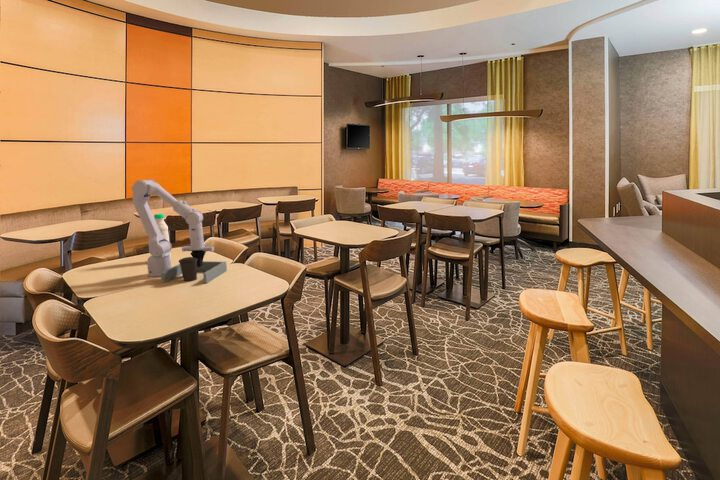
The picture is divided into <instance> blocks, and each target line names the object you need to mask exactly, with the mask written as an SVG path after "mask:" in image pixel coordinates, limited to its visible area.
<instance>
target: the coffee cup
mask: <svg viewBox="0 0 720 480" xmlns="http://www.w3.org/2000/svg"><path fill="white" fill-rule="evenodd" d="M197 261H198V259H197V258H194V257H192V256H188V257H187V256H186V257H183V258H180V259H178V264H180V266H181V271H182V274H181V275H182V279H183V281H184V282H194V281H197V279H198V276H197V275H198V271H197Z"/></svg>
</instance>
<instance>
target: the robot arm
mask: <svg viewBox="0 0 720 480" xmlns="http://www.w3.org/2000/svg"><path fill="white" fill-rule="evenodd" d="M131 191H132V203H133V206H134V208H135V210H136V213H137V215H138V217H139V218H140V221H141V224H142V226H143V228H144V230H145V232H146V235H147V237H148V241H147V245H148V252H149V254H150V255H151V256H149V257H148V258H147V260H146V266H147V277H156V278H157V277H161V273H162V272H164V271H166V270H168V269H170V268H172V259H171V260H170V254H171V250H172V247H173V246H172V243H171V242H170V240H169V241H168V240H167V239H166V237H165V236H164V235H162V234H161V232H160V230H159V228H158V225H157V223H156V220H155V218H154V214H153V211H152V209H151V207H150V206H149V204H148V201H149V200H150V198H151V196H157V197H159V199H161V200H163V201H164V202H166V203H167V204H168V205H171V206H172V210H173V211H174V212H175V213H176V214H178V215H179V216H181V218H183V219H185V223H186V224H188V230H189V241H190V246H189V245H187V246H182V247H181V252H190V256H191V257H194V258H197V259H198V261H197V267H201V266H202V262H203V261H204V258H205V255H206V254H207V252H212V253H213V252H214V251H215V247H214V246H208V245H205V240H204V239H205V238H204V229H203V220H204V214H203V213H202V212H201V211H199V210H196V208H194V207H192V206H190V205H189V204H188V203H187V201H186V200H183V199H182V200H181V199H180V200H178V199H176V197H174V196H173V195H172V194H171V193H170V192H168V191H167V190H166V189H165V188H163V187H162V186H161V184H159V183H158V182H156V181H155V180H154V179H152V178H151V179H150V178H149V179H142V180H141V179H140V180H136V181H134V183H133V185H132V186H131ZM169 252H170V253H169ZM161 278H162V277H161Z"/></svg>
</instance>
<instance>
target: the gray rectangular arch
mask: <svg viewBox="0 0 720 480" xmlns="http://www.w3.org/2000/svg"><path fill="white" fill-rule="evenodd" d="M227 268H228V267H227V261H214V260H213V261H211V260H209V261H207V260H206V261H205V260H203V262H202V266H201V267H197V272H202V273H203V272H204V273H203V274H202V275H203V276H202V277H203V284H206V285H207V284H208V283H211V282H212V281H213V280H215V279H216V278H218V277H220V276H221V275H222V274H224V273H225V272H228V271H227V270H228V269H227ZM180 275H182V271H181V266H180V263H178V264H177V265H176V264H175V265H174V266H171V268H170V269H168V270H166V271H164V272H162V273H161V282H162V283H163V284H164V283H165V284H166V283H167V282H169V281H171V280H174V279H175V278H176V277H178V276H180Z"/></svg>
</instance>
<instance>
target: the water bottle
mask: <svg viewBox="0 0 720 480" xmlns="http://www.w3.org/2000/svg"><path fill="white" fill-rule="evenodd" d="M153 216H154V219H155V221H156V223H157V225H158V228H159V230H160V232H161V234H162V235H164V236H165V237H166V239H167V240H168V241H169V242H170V235H169V234H170V233H169V227H168V225H167V224H166V222H165V220H164V219H165V214H164V213H155V214H153ZM169 253H170V260H171V261H172V254H171V251H170V252H169Z"/></svg>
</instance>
